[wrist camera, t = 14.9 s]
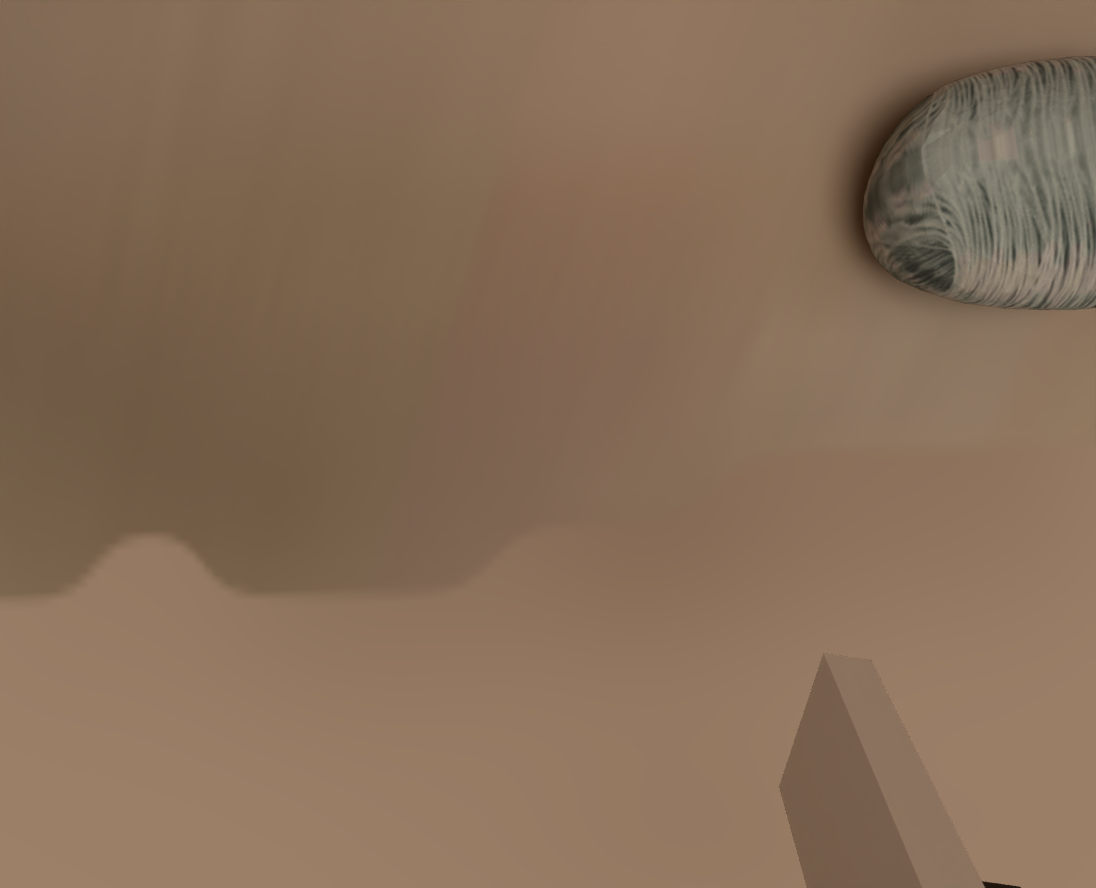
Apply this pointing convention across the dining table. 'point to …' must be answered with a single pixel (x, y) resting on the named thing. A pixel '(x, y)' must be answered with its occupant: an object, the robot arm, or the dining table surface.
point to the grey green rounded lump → (994, 189)
